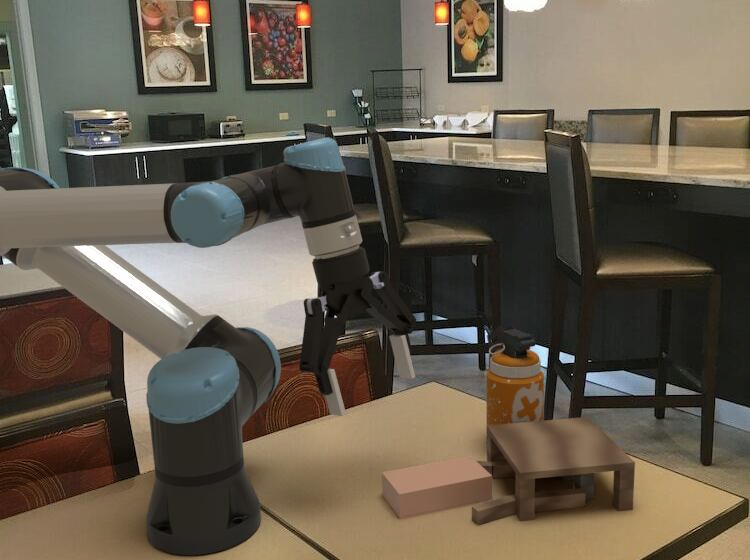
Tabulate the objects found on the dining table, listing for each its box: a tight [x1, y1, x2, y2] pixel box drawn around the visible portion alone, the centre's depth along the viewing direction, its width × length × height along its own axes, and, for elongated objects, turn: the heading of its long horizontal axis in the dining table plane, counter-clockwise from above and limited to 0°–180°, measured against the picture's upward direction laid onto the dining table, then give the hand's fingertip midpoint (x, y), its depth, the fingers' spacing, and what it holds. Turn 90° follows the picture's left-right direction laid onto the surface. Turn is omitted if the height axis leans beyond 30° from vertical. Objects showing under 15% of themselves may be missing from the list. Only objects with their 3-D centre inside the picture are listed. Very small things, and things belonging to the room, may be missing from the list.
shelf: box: [471, 416, 636, 526], centre depth 114 cm, size 22×16×7 cm
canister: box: [485, 324, 545, 445], centre depth 127 cm, size 9×11×20 cm
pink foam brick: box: [381, 455, 493, 520], centre depth 113 cm, size 14×7×4 cm, turn 109°
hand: (374, 395), depth 113 cm, fingers open, 13 cm apart
